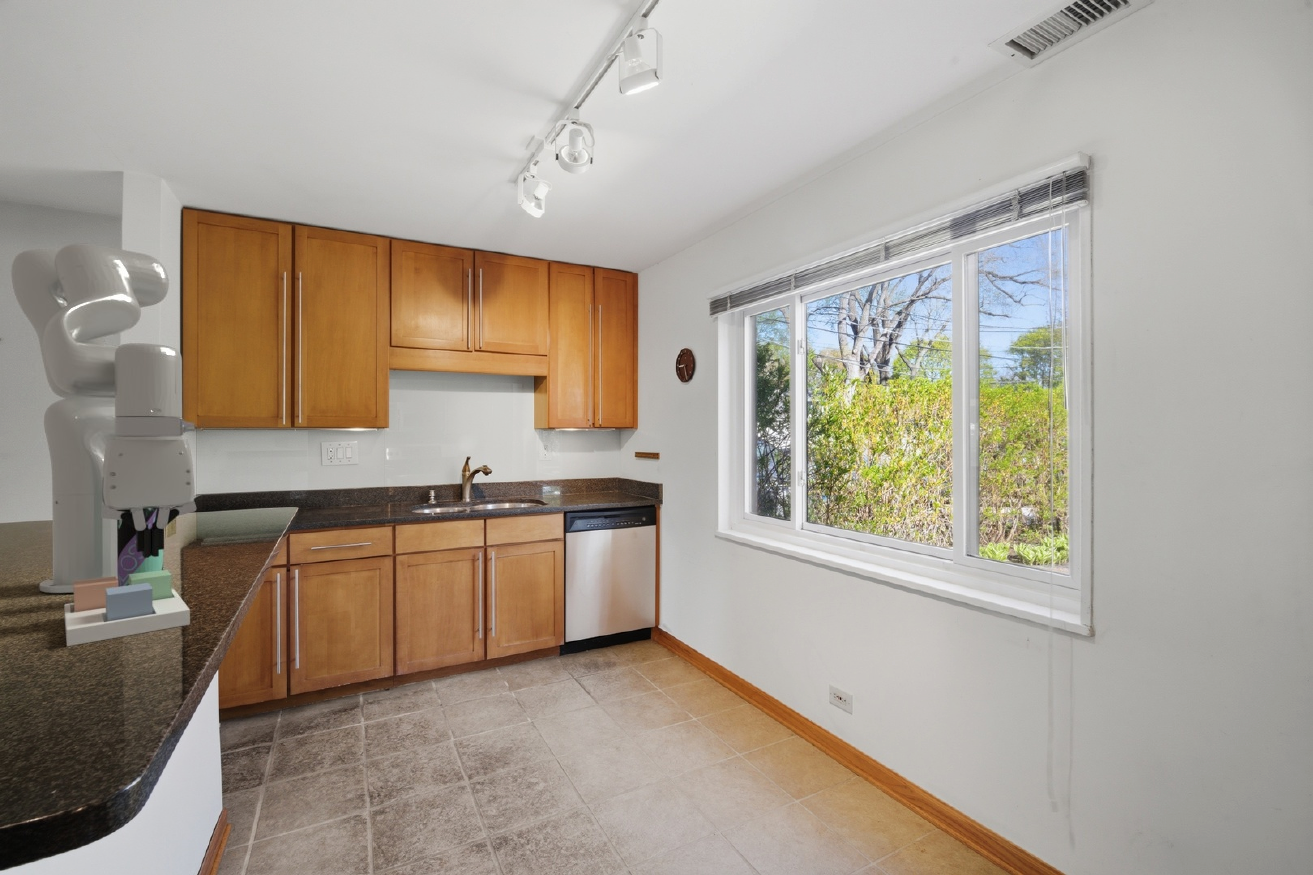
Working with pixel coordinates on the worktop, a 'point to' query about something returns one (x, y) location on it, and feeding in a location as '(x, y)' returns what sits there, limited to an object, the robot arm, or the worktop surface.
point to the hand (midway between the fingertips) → (150, 555)
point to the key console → (123, 621)
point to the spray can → (134, 550)
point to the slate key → (128, 601)
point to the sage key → (155, 583)
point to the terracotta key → (92, 593)
